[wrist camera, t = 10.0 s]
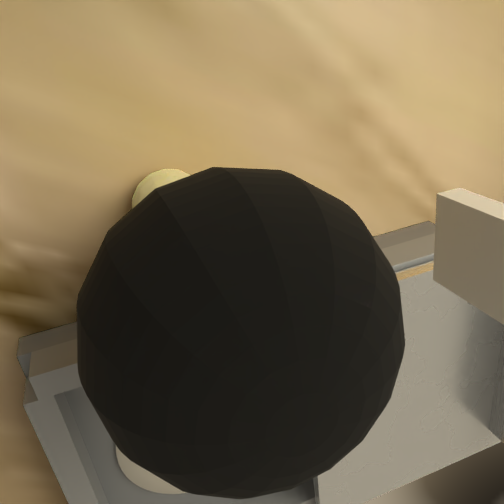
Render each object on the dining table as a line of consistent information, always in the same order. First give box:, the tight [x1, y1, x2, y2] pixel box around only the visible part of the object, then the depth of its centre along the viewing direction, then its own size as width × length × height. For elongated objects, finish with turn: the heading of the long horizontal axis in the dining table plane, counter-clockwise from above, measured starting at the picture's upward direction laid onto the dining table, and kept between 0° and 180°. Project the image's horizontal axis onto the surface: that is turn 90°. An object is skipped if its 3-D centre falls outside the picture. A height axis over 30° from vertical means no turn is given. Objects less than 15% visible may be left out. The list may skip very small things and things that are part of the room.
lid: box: [313, 261, 504, 504], centre depth 21 cm, size 13×12×3 cm
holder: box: [17, 221, 435, 504], centre depth 22 cm, size 13×18×3 cm
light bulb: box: [77, 167, 405, 499], centre depth 13 cm, size 7×7×12 cm
